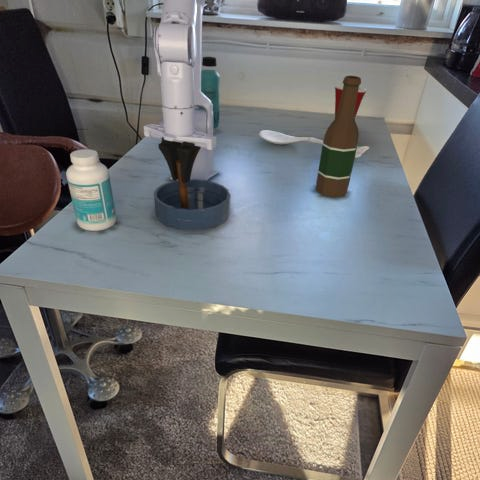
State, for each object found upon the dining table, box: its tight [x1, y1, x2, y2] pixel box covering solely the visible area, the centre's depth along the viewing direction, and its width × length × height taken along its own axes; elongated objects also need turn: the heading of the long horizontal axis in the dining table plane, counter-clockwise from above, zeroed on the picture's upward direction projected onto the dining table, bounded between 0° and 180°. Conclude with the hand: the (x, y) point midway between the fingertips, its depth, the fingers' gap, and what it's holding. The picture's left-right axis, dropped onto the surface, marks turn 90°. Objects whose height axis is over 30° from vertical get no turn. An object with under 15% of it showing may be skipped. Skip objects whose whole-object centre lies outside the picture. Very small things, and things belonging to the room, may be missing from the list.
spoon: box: [258, 129, 370, 159], centre depth 122 cm, size 9×32×4 cm, turn 60°
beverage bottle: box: [197, 56, 221, 130], centre depth 127 cm, size 6×7×20 cm
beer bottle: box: [315, 75, 362, 199], centre depth 93 cm, size 8×8×24 cm
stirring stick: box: [176, 160, 189, 209], centre depth 85 cm, size 2×2×10 cm
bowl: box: [153, 179, 232, 231], centre depth 87 cm, size 15×15×4 cm
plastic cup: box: [334, 84, 368, 118], centre depth 142 cm, size 11×11×12 cm
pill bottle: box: [65, 148, 117, 232], centre depth 79 cm, size 8×7×14 cm
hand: (181, 180), depth 84 cm, fingers closed on stirring stick, 1 cm apart
